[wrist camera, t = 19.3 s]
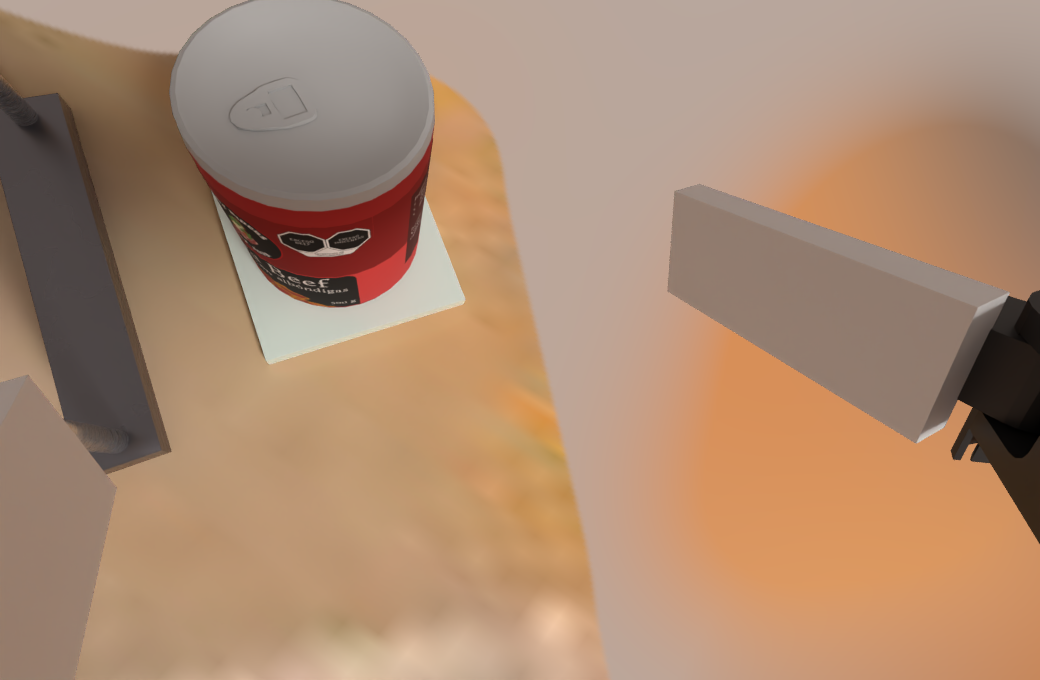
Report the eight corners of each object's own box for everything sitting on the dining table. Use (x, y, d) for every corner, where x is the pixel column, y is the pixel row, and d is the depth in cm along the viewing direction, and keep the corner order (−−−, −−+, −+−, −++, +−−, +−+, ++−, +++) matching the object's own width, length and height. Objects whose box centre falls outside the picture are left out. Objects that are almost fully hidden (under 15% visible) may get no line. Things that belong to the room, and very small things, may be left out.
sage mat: (269, 364, 25) (266, 361, 25) (210, 183, 27) (206, 174, 26) (463, 304, 28) (465, 299, 28) (401, 144, 30) (401, 136, 29)
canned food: (218, 238, 25) (103, 71, 15) (343, 145, 28) (319, -48, 18) (333, 346, 25) (298, 253, 15) (447, 243, 28) (483, 106, 18)
